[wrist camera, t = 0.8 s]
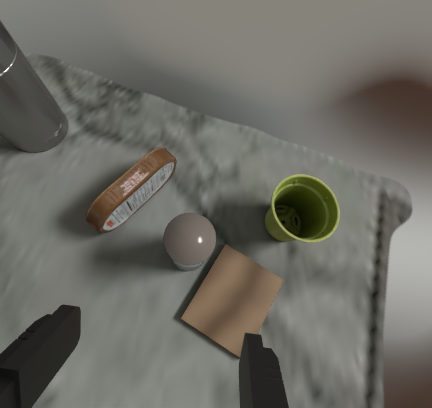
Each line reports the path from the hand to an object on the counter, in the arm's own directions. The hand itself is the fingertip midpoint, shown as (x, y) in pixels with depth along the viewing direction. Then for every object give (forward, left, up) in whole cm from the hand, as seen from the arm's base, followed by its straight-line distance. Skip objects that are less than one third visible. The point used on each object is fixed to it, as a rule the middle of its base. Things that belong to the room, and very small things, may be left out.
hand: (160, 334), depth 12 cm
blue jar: (-3, +7, -26) cm, 27 cm away
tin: (-14, +10, -26) cm, 31 cm away
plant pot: (+8, +19, -26) cm, 33 cm away
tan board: (+6, +5, -26) cm, 27 cm away
